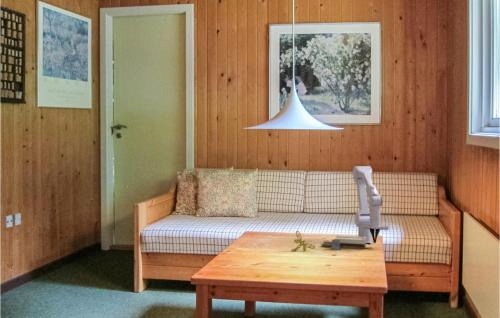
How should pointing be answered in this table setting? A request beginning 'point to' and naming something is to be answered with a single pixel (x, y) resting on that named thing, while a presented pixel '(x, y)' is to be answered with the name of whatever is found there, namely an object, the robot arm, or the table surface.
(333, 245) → the block
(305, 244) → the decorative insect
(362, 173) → the robot arm
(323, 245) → the track board
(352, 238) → the shallow rimmed tray
